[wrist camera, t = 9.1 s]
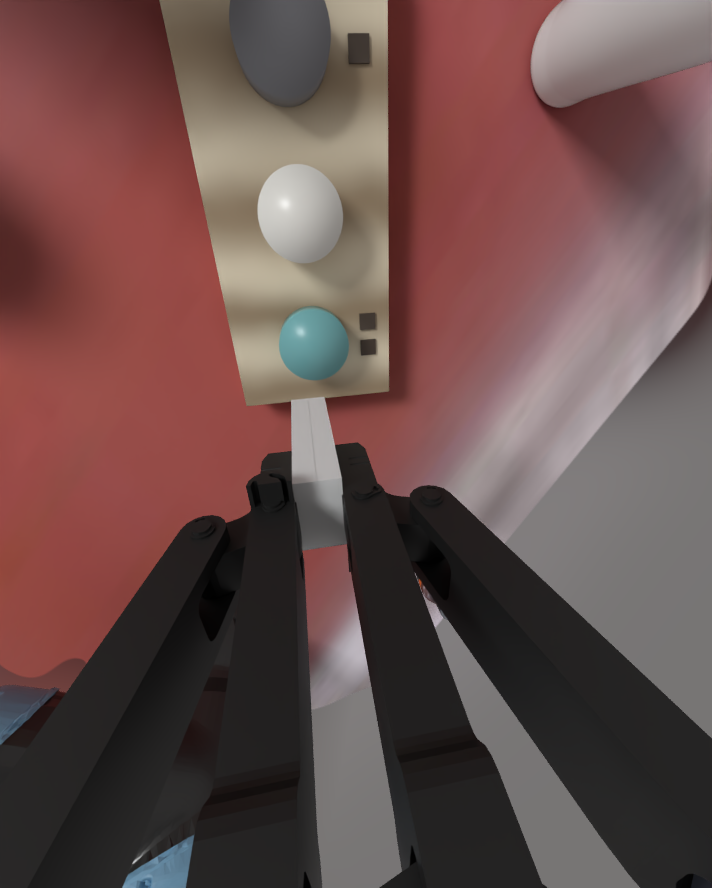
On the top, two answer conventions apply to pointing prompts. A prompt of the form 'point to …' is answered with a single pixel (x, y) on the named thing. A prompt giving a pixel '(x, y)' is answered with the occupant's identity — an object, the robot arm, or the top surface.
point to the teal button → (313, 343)
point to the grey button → (281, 47)
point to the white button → (300, 213)
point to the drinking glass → (616, 45)
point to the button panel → (272, 147)
